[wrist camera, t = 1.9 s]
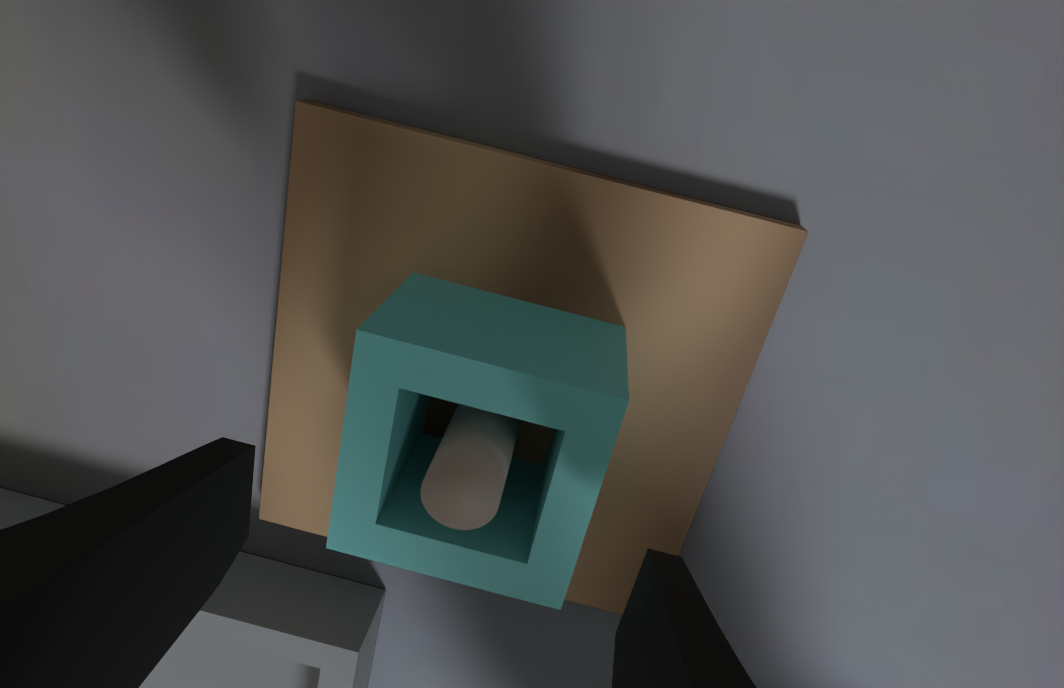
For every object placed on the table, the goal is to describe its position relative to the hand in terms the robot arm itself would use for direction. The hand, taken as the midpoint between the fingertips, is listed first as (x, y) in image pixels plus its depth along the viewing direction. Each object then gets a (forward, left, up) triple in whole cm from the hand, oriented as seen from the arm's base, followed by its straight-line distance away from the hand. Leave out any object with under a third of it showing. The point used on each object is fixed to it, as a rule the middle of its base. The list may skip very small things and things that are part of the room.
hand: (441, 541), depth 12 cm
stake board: (0, 0, -7) cm, 7 cm away
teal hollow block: (0, 0, -6) cm, 6 cm away
